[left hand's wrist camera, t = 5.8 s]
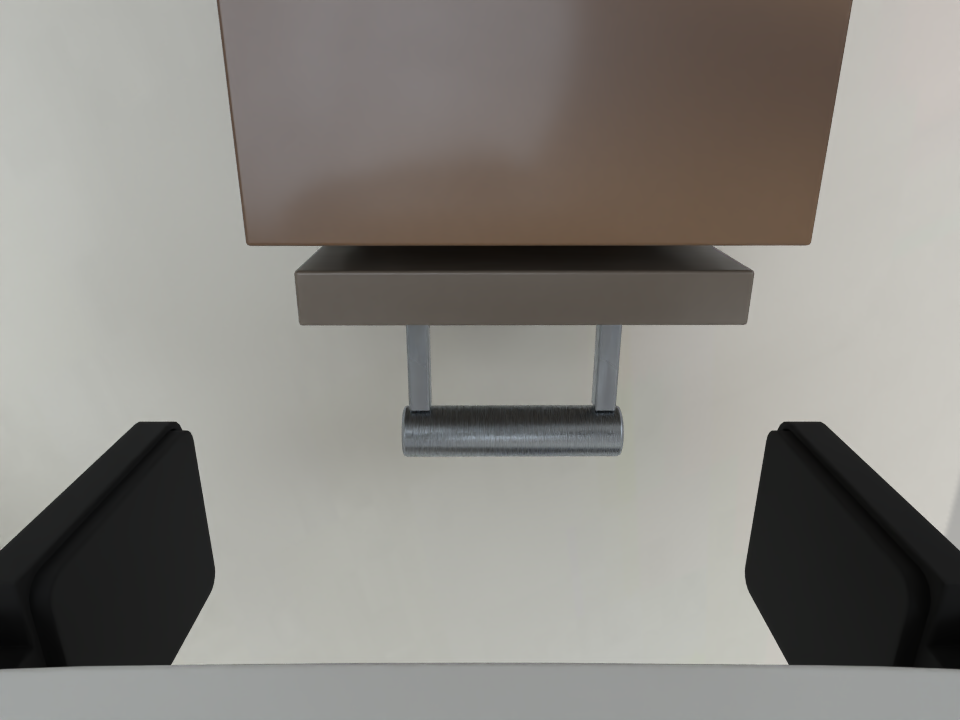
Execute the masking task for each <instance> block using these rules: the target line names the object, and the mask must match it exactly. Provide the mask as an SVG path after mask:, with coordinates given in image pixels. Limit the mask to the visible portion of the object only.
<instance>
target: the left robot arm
mask: <svg viewBox="0 0 960 720" xmlns="http://www.w3.org/2000/svg"><path fill="white" fill-rule="evenodd" d="M214 579H215V566H214V560H213V554H212V548H211V542H210V536H209V530H208V524H207V518H206V512H205V506H204V500H203V494H202V488H201V482H200V476H199V470H198V464H197V458H196V452H195V446H194V440H193V437H192V434H191V433H190V432H189V431H182V428H181V427H180V425H179V424H178V423H177V422H138V423H136V424H135V425H134V426H133V427H132V428H131V429H130V430H129V431H127V432H126V433H125V434H124V435H123V436H122V437H121V438H120V439H119V440H118V441H117V442H116V443H115V444H114V445H113V446H112V447H110V448H109V449H108V450H107V451H106V452H105V453H104V454H103V455H102V456H101V457H100V458H99V459H98V460H97V461H96V462H94V463H93V464H92V465H91V466H90V467H89V468H88V469H87V470H86V471H85V472H84V473H83V474H82V475H81V476H80V477H78V478H77V479H76V480H75V481H74V482H73V483H72V484H71V485H70V486H69V487H68V488H67V489H66V490H65V491H64V492H62V493H61V494H60V495H59V496H58V497H57V498H56V499H55V500H54V501H53V502H52V503H51V504H50V505H49V506H48V507H46V508H45V509H44V510H43V511H42V512H41V513H40V514H39V515H38V516H37V517H36V518H35V519H34V520H33V521H32V522H30V523H29V524H28V525H27V526H26V527H25V528H24V529H23V530H22V531H21V532H20V533H19V534H18V535H17V536H16V537H14V538H13V539H12V540H11V541H10V542H9V543H8V544H7V545H6V546H5V547H4V548H3V549H2V550H1V551H0V720H960V551H959V550H958V549H957V548H956V547H955V546H954V545H953V544H952V543H951V542H950V541H949V540H948V539H947V538H946V537H944V536H943V535H942V534H941V533H940V532H939V531H938V530H937V529H936V528H935V527H934V526H933V525H932V524H931V523H930V522H928V521H927V520H926V519H925V518H924V517H923V516H922V515H921V514H920V513H919V512H918V511H917V510H916V509H915V508H914V507H912V506H911V505H910V504H909V503H908V502H907V501H906V500H905V499H904V498H903V497H902V496H901V495H900V494H899V493H898V492H896V491H895V490H894V489H893V488H892V487H891V486H890V485H889V484H888V483H887V482H886V481H885V480H884V479H883V478H882V477H880V476H879V475H878V474H877V473H876V472H875V471H874V470H873V469H872V468H871V467H870V466H869V465H868V464H867V463H866V462H864V461H863V460H862V459H861V458H860V457H859V456H858V455H857V454H856V453H855V452H854V451H853V450H852V449H851V448H850V447H848V446H847V445H846V444H845V443H844V442H843V441H842V440H841V439H840V438H839V437H838V436H837V435H836V434H835V433H834V432H833V431H831V430H830V429H829V428H828V427H827V426H826V425H825V424H824V423H822V422H783V423H782V424H781V425H780V427H779V428H778V431H771V432H770V433H769V434H768V437H767V440H766V446H765V452H764V458H763V464H762V470H761V476H760V482H759V488H758V494H757V500H756V506H755V512H754V518H753V524H752V530H751V536H750V542H749V548H748V554H747V560H746V566H745V579H746V584H747V588H748V591H749V593H750V595H751V597H752V598H753V600H754V602H755V604H756V606H757V607H758V609H759V611H760V613H761V615H762V617H763V618H764V620H765V622H766V624H767V626H768V628H769V629H770V631H771V633H772V635H773V637H774V638H775V640H776V642H777V644H778V646H779V648H780V649H781V651H782V653H783V655H784V657H785V659H786V660H787V662H788V664H789V665H728V664H617V663H320V664H232V665H171V664H172V662H173V660H174V659H175V657H176V655H177V653H178V651H179V649H180V648H181V646H182V644H183V642H184V640H185V638H186V637H187V635H188V633H189V631H190V629H191V628H192V626H193V624H194V622H195V620H196V618H197V617H198V615H199V613H200V611H201V609H202V607H203V606H204V604H205V602H206V600H207V598H208V597H209V595H210V593H211V591H212V588H213V584H214Z"/></svg>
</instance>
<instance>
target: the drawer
mask: <svg viewBox="0 0 960 720" xmlns="http://www.w3.org/2000/svg"><path fill="white" fill-rule="evenodd" d="M294 275H295V285H296V295H297V305H298V315H299V323H300V325H406V337H407V362H408V387H409V406H406V407H405V408H404V410H403V416H402V449H403V453H404V455H405V456H407V457H451V456H618V455H620V453H621V451H622V447H623V439H624V427H623V418H622V413H621V410H620V408H619V407H618V406H616V396H617V383H618V370H619V357H620V344H621V331H622V325H744V324H746V323H747V319H748V312H749V306H750V299H751V292H752V285H753V278H754V271H753V270H751V269H749V268H748V267H746V266H744V265H743V264H741V263H740V262H738V261H736V260H735V259H733V258H731V257H730V256H728V255H726V254H725V253H723V252H722V251H720V250H718V249H717V248H715V247H713V246H712V245H683V246H322V247H321V248H320V249H319V250H318V251H317V252H316V253H314V254H313V255H312V256H311V257H310V258H309V259H308V260H307V261H306V262H305V263H304V264H303V265H302V266H301V267H299V268H298V269H297V270H296V271H295V274H294ZM430 325H596V341H595V356H594V372H593V388H592V404H593V405H511V406H431V404H432V394H431V358H430Z"/></svg>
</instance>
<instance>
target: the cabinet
mask: <svg viewBox="0 0 960 720" xmlns="http://www.w3.org/2000/svg"><path fill="white" fill-rule="evenodd" d="M852 1H853V0H217V7H218V15H219V23H220V31H221V39H222V48H223V56H224V64H225V72H226V80H227V89H228V97H229V105H230V113H231V121H232V130H233V138H234V146H235V154H236V162H237V171H238V179H239V187H240V195H241V204H242V212H243V220H244V228H245V236H246V243H247V245H249V246H683V245H809V244H810V243H811V238H812V233H813V227H814V221H815V215H816V209H817V204H818V198H819V192H820V186H821V180H822V175H823V169H824V163H825V157H826V151H827V146H828V140H829V134H830V128H831V122H832V117H833V111H834V105H835V99H836V94H837V88H838V82H839V76H840V70H841V65H842V59H843V53H844V47H845V41H846V36H847V30H848V24H849V18H850V12H851V7H852Z"/></svg>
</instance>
